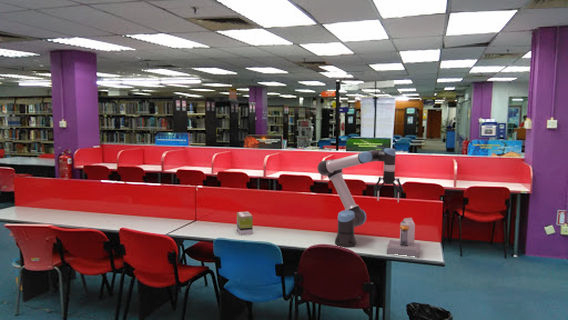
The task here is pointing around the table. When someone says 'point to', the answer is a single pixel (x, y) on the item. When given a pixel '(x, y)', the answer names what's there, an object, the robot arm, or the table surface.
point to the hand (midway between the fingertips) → (388, 201)
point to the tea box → (244, 223)
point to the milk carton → (411, 229)
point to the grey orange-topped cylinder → (404, 234)
